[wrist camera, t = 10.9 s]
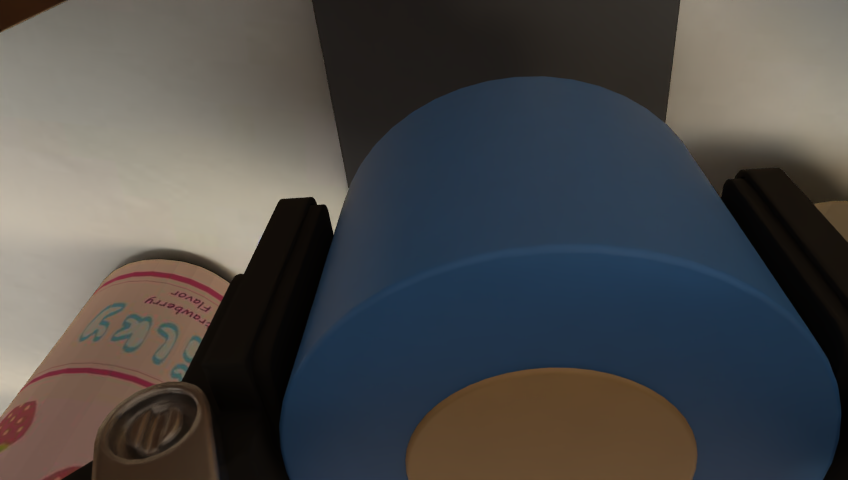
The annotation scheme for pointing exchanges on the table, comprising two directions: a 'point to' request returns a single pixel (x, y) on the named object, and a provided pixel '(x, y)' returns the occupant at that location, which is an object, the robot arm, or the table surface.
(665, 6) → the mat
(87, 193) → the table surface
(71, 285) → the table surface
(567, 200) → the tape
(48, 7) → the tall wooden box
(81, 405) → the beverage can
